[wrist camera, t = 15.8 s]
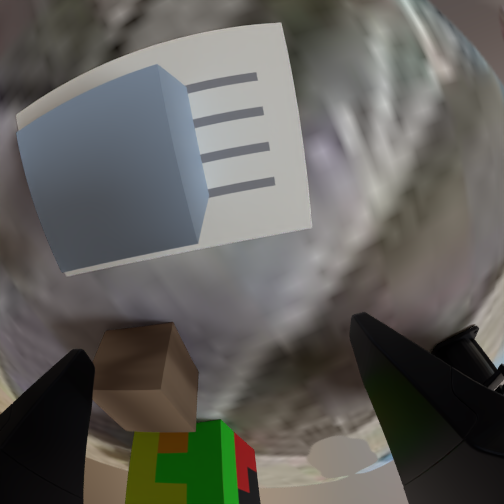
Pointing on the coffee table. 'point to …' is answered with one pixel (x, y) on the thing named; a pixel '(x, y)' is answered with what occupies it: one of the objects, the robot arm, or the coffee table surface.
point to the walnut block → (146, 379)
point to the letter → (225, 129)
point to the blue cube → (117, 171)
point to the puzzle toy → (192, 467)
